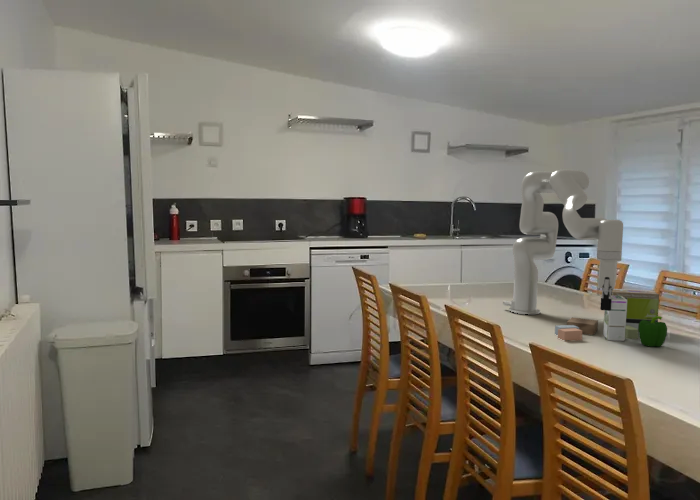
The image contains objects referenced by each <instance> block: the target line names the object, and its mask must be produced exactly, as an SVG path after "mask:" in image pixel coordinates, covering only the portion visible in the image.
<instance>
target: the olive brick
mask: <svg viewBox="0 0 700 500" xmlns="http://www.w3.org/2000/svg"><path fill="white" fill-rule="evenodd" d="M625 339H626V340H638V339H639V333H638V329H636V328H634V327H631V326H629V325H626V328H625Z"/></svg>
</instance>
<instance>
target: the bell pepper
mask: <svg viewBox="0 0 700 500" xmlns="http://www.w3.org/2000/svg"><path fill="white" fill-rule="evenodd" d="M662 318H663V317H662V316H661V315H658V316H656V317H653V319H652V320H651V321H647V320H642V321H640V323H639V325H638V331H639V333H638V338H639V340H640V342H641V345H643V346H646V347H650V348H651V347H654V348H655V347H662V346H663V345H664V343H665V342H666V338H667V336H668V335H667V334H668V327H667V324H666V322H664V321H658V322H655V320H656V319H658V320H662Z"/></svg>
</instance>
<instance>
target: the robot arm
mask: <svg viewBox="0 0 700 500" xmlns="http://www.w3.org/2000/svg"><path fill="white" fill-rule="evenodd" d="M589 179H590V178H589V176H588V174H587V173H586V172H585V171H583V170H580V169H558V170H555V171H545V170H543V171H542V170H541V171H531V172H529V173H527V174H526V175H524V177H523V178H522V181H521V189H520V190H521V199H522V200H521V208H520V217H519V231H520V232H521V233H522V234H524V235H530V236H531V235H533V237H532V236H531V237H530V236H529V237H520V238H518V239H516V240H515V241H514V243H513V245H512V255H513V261H514V268H513V269H514V271H513V273H514V276H513V297H512V300H510V301H508V300H503V301H502V305H503V306H505V307H509V308H508V311H509V312H510V311H511V312H510V313H512V312H514V313H513V314H517V313H518V314H517V315H525V314H528V316H530V315H539V314H541V310H540V309H539V308H537V305H538V304H537V303H538V278H539V277H538V276H539V271H538V270H539V269H538V266H537V265H536V263H535V261H546V260H551V258H553V257H554V255H555V252H556V247H557V240H558V231H559V220H558V218H557V216H556V214H555V213H553V212H551V211H544V199H543V196H542V194H541V193H543V194H556V195H557V197H558V199H559V200H560V202H561V204H562V205H563V209H562V222H563V224H564V227H565V228H566V229H567V232H568V233H569V234H570V235H571V236H572V237H573V238H574V239H576V240H579V241H580V240H584V241H585V240H587V241H588V240H592V241H597V248H596V249H597V250H596V251H597V252H596V261H599V267H598V268H599V269H598V277H597V278H598V280H597V289H598V290H601V297H600V310H601V311H605V310H606V311H611V300H612V299H611V295H612V290H614V289H615V287H616V281H617V270H618V268H617V267H618V262H622V254H623V253H622V252H623V236H624V235H623V234H624V222H623V221H622V220H620V219H607V218H602V217H600V218H598V217H581V215H580V214H579V213H578V211H577V210H579V209H581V208H582V207H583V206H584V205H585V204H586V203H587V201H588V195H587V193H586V192H585V191H586V190H587V189H588V187H589V183H590V181H589ZM537 235H538V236H539V237H534V236H537Z"/></svg>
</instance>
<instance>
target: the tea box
mask: <svg viewBox="0 0 700 500" xmlns="http://www.w3.org/2000/svg"><path fill="white" fill-rule="evenodd" d="M612 295H618V296H623V297H624V298H625V299H627V312H626V325H629V326H631V327H634V328H636V329H638V325H639V323H640V321H642V320H647V321H651V320H652V319H653V317H656V316H659V310H660V309H659V303H660V294H659V293H657V292H656V291H655V290H651V289H649V290H647V289H629V288H627V289H626V288H614V290H612ZM655 322H659V319H656V320H655ZM638 334H639V331H638Z"/></svg>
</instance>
